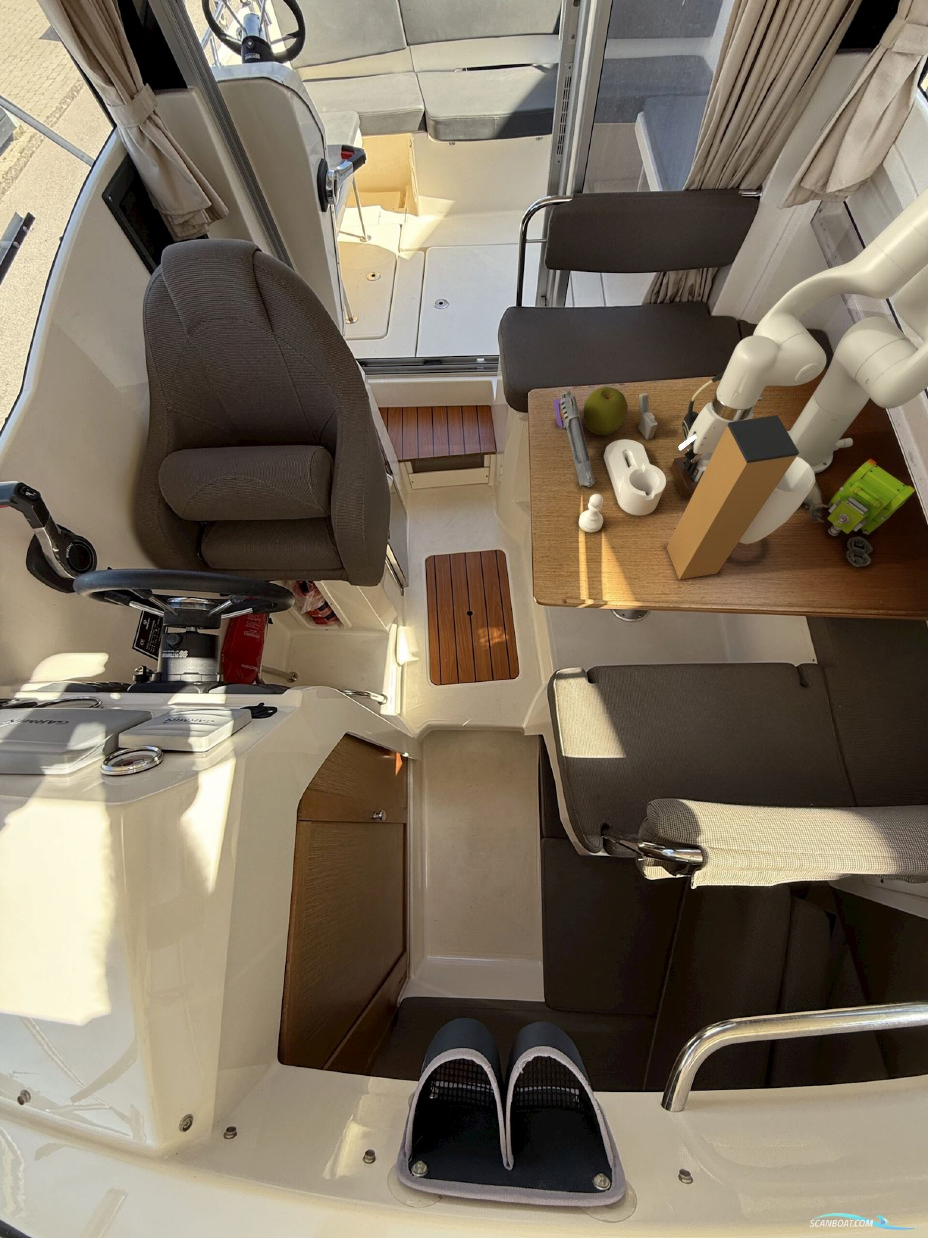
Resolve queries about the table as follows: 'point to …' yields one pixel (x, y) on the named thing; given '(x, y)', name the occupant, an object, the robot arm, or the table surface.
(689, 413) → the headphones
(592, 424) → the apple
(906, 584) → the table surface
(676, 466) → the holder
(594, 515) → the chess pawn
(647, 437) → the grey angled piece
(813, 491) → the rhino figurine
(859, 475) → the lime green boxy piece
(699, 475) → the pill bottle
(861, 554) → the corroded twin loop
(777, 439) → the black-topped square pillar
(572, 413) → the handgun
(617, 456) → the bracket
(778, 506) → the cup
